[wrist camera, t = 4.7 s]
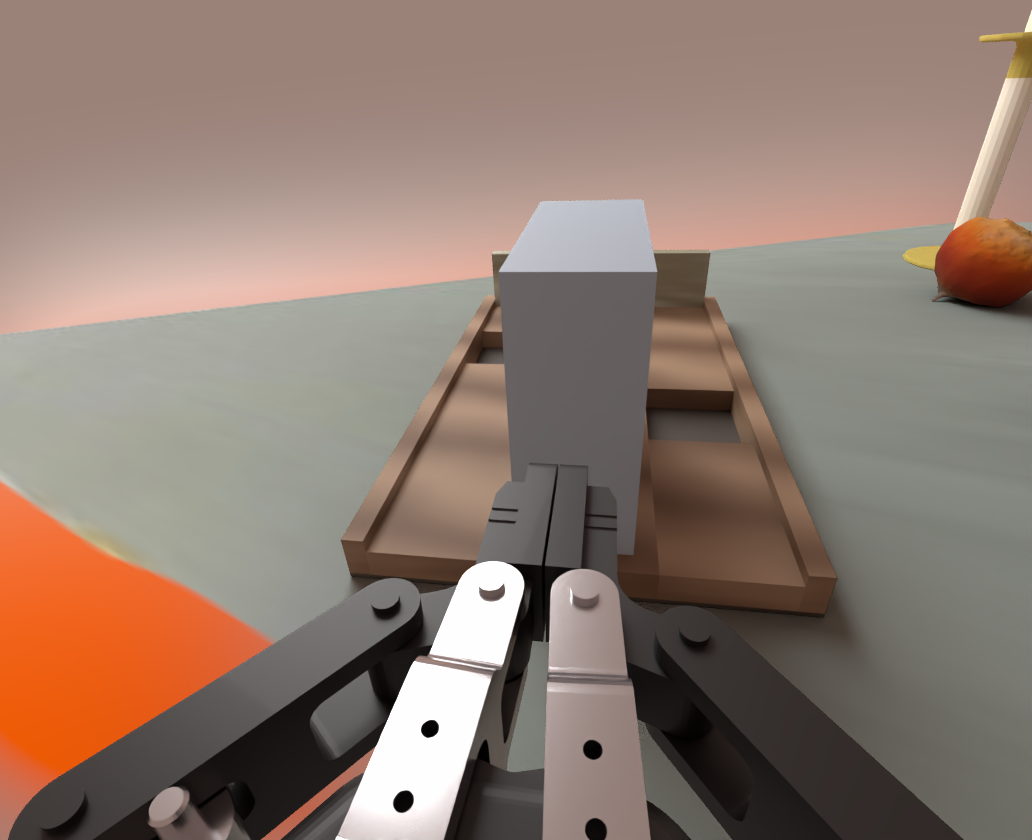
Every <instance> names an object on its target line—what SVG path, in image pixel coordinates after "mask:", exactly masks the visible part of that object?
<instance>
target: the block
mask: <svg viewBox="0 0 1032 840" xmlns="http://www.w3.org/2000/svg"><path fill="white" fill-rule="evenodd" d="M498 273H499V289H500V305H501V321H502V337H503V353H504V369H505V384H506V400H507V416H508V432H509V448H510V464H511V480H512V481H516V482H525V478H526V474H527V469H528V465H529V463H544V464H558V472H559V466H560V464H564V465H582V466H588V486H600V487H609V489H610V490H611V492H612V494H613V495H614V497H615V498H616V500H617V554H621V555H634V543H635V531H636V519H637V507H638V495H639V483H640V471H641V459H642V448H643V436H644V424H645V412H646V400H647V388H648V376H649V364H650V352H651V341H652V329H653V317H654V305H655V293H656V281H657V268H656V263H655V258H654V253H653V248H652V243H651V239H650V233H649V228H648V223H647V218H646V213H645V208H644V203H643V199H641V200H640V199H638V200H593V201H592V200H591V201H590V200H589V201H544V202H542V201H541V203H540V204H539V206H538V207H537V209H536V211H535V212H534V214H533V216H532V217H531V219H530V221H529V222H528V224H527V226H526V227H525V229H524V231H523V232H522V234H521V236H520V237H519V239H518V240H517V242H516V244H515V246H514V247H513V249H512V250H511V252H510V254H509V255H508V257H507V259H506V260H505V262H504V264H503V265H502V267H501V269H500V270H499V272H498Z"/></svg>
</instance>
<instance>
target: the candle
mask: <svg viewBox="0 0 1032 840" xmlns="http://www.w3.org/2000/svg"><path fill="white" fill-rule="evenodd" d="M979 41H980V42H1000V41H1015V42H1016V45H1017V48H1016V51H1015V53H1014V57H1013V59H1012V62H1011V65H1010V68H1009V71H1008V74H1007V77H1006V80H1005V82H1004V85H1003V88H1002V91H1001V94H1000V97H999V100H998V103H997V106H996V109H995V111H994V114H993V117H992V120H991V123H990V126H989V129H988V132H987V135H986V137H985V140H984V143H983V146H982V149H981V152H980V155H979V158H978V161H977V163H976V167H975V169H974V172H973V175H972V178H971V181H970V184H969V187H968V190H967V192H966V196H965V198H964V201H963V204H962V207H961V210H960V213H959V216H958V219H957V222H956V224H955V227H954V229H956V228H957V227H959V226H960V225H962V224H963V223H965V222H967V221H969V220H971V219H974V218H977V217H986V218H988V216H989V213H990V211H991V208H992V205H993V203H994V200H995V197H996V194H997V192H998V189H999V186H1000V184H1001V181H1002V178H1003V176H1004V173H1005V170H1006V167H1007V165H1008V162H1009V160H1010V157H1011V154H1012V151H1013V149H1014V146H1015V143H1016V141H1017V137H1018V135H1019V133H1020V130H1021V127H1022V124H1023V122H1024V119H1025V116H1026V114H1027V111H1028V108H1029V106H1030V103H1031V100H1032V12H1031V15H1030V18H1029V20H1028V23H1027V26H1026V29H1025V32H1021V33H1009V34H998V35H997V34H996V35H987V36H980V39H979ZM940 247H941V246H929V247H918V248H914V249H910V250H907V252H906V253H905V254H904V255H903V258H904V259H905V260H906V261H907V262H909V263H912V264H914V265H917V266H919V267H923V268H927V269H932V270H934V268H935V258H936V254H937V252H938V250H939V249H940Z"/></svg>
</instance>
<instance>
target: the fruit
mask: <svg viewBox="0 0 1032 840" xmlns="http://www.w3.org/2000/svg"><path fill="white" fill-rule="evenodd" d="M934 270H935V274H936V277H937V282H938V287H937V288H938V296H936V297H934V298H933V299H932V302H934V301H935V300H937V299H939V298H942V297H955V298H959V299H962V300H965V301H968V302H971V303H974V304H979V305H986V306H992V307H997V308H998V307H1002V306H1005V305H1008V304H1010V303H1013V302H1015V301H1017V300H1018V299H1020V298H1022V297H1023V296H1024V295H1026V294H1027V293H1028V292H1030V291H1031V290H1032V233H1031V231H1028V230H1026V229H1025V228H1023V227H1021V226H1019V225H1017V224H1016V223H1014V222H1013V221H1010V220H1009V219H1006V218H1005V219H990V218H986V217H977V218H974V219H971V220H969V221H967V222H965V223H963V224H962V225H960V226H959V227H957V228H956V229H954V230H953V231H952V232H951V233H950V234H949V236H948V237H947V239H946V240H945V242H944V243H943V244H942V246H941V247H940V249H939V250H938V252H937V254H936V258H935V268H934Z"/></svg>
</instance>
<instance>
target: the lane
mask: <svg viewBox="0 0 1032 840" xmlns="http://www.w3.org/2000/svg"><path fill="white" fill-rule="evenodd" d="M510 252H511V251H494V252H493V254H492V261H493V277H494V292H495V296H486V297H485V299H484V300H483V302H482V304H481V305H480V307H479V309H478V310H477V312H476V314H475V315H474V317H473V319H472V320H471V322H470V324H469V325H468V327H467V329H466V330H465V332H464V334H463V335H462V337H461V339H460V340H459V342H458V344H457V346H456V347H455V349H454V351H453V352H452V354H451V356H450V357H449V359H448V361H447V362H446V364H445V366H444V367H443V369H442V371H441V372H440V374H439V376H438V377H437V379H436V381H435V382H434V384H433V386H432V387H431V389H430V391H429V393H428V394H427V396H426V398H425V399H424V401H423V403H422V404H421V406H420V408H419V409H418V411H417V413H416V414H415V416H414V418H413V419H412V421H411V423H410V424H409V426H408V428H407V429H406V431H405V433H404V434H403V436H402V438H401V440H400V441H399V443H398V445H397V446H396V448H395V450H394V451H393V453H392V455H391V456H390V458H389V460H388V461H387V463H386V465H385V466H384V468H383V470H382V471H381V473H380V475H379V476H378V478H377V480H376V481H375V483H374V485H373V487H372V488H371V490H370V492H369V493H368V495H367V497H366V498H365V500H364V502H363V503H362V505H361V507H360V508H359V510H358V512H357V513H356V515H355V517H354V518H353V520H352V522H351V523H350V525H349V527H348V528H347V530H346V532H345V534H344V535H343V537H342V539H341V542H342V546H343V549H344V553H345V557H346V560H347V564H348V567H349V571H350V575H351V576H358V577H369V578H380V579H388V578H399V579H404V580H407V581H415V582H426V583H438V584H449V585H457V584H459V581H460V579H461V577H462V576H463V575H464V573H465V572H466V571H468V570H469V569H470V568H472V567H473V566H475V564H476V560H477V557H478V554H479V550H480V547H481V543H482V540H483V536H484V533H485V529H486V526H487V523H488V519H489V516H490V512H491V510H492V505H493V502H494V498H495V495H496V493H497V492H498V491H499V490H500V489H501V487H502V486H503V485H504V484H505V483H506V482H507V481H512V480H511V464H510V448H509V432H508V416H507V400H506V384H505V369H504V353H503V337H502V321H501V305H500V289H499V273H498V272H499V270H500V269H501V267H502V265H503V264H504V262H505V260H506V259H507V257H508V255H509V254H510ZM653 253H654V258H655V263H656V268H657V281H656V293H655V305H654V317H653V329H652V341H651V352H650V364H649V376H648V388H647V400H646V412H645V424H644V436H643V448H642V459H641V471H640V483H639V495H638V507H637V519H636V531H635V543H634V555H621V554H617V578H618V583H619V586H620V588H621V590H622V591H623V592H624V594H625V595H626V596H627V597H628V598H629V599H630V600H632V601H643V602H655V603H666V604H678V605H689V606H700V607H712V608H723V609H735V610H746V611H758V612H769V613H780V614H792V615H803V616H815V617H824V615H825V612H826V609H827V606H828V603H829V600H830V598H831V595H832V592H833V589H834V586H835V583H836V581H837V576H836V574H835V572H834V569H833V567H832V565H831V562H830V560H829V558H828V555H827V553H826V551H825V549H824V546H823V544H822V542H821V539H820V537H819V535H818V533H817V530H816V528H815V526H814V523H813V521H812V519H811V517H810V514H809V512H808V510H807V507H806V505H805V503H804V500H803V498H802V496H801V494H800V491H799V489H798V487H797V484H796V482H795V480H794V478H793V475H792V473H791V471H790V468H789V466H788V464H787V462H786V459H785V457H784V455H783V452H782V450H781V448H780V445H779V443H778V441H777V439H776V436H775V434H774V432H773V429H772V427H771V425H770V423H769V420H768V418H767V416H766V413H765V411H764V409H763V407H762V404H761V402H760V400H759V397H758V395H757V393H756V390H755V388H754V386H753V384H752V381H751V379H750V377H749V374H748V372H747V370H746V368H745V365H744V363H743V361H742V358H741V356H740V354H739V352H738V349H737V347H736V345H735V342H734V340H733V338H732V335H731V333H730V331H729V329H728V326H727V324H726V322H725V319H724V317H723V315H722V313H721V310H720V308H719V306H718V303H717V301H716V299H715V297H705V290H706V282H707V274H708V267H709V259H710V251H709V250H653Z"/></svg>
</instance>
